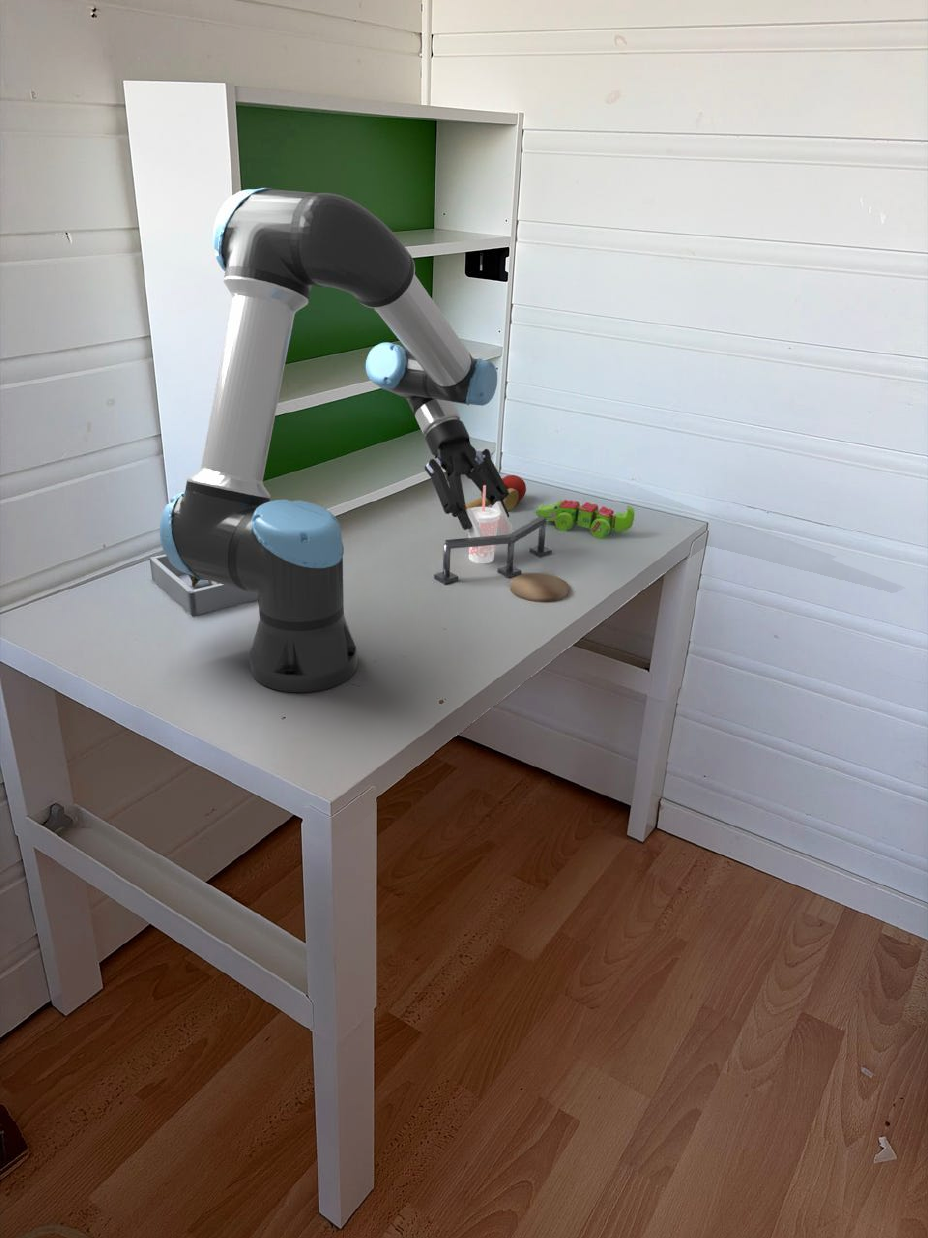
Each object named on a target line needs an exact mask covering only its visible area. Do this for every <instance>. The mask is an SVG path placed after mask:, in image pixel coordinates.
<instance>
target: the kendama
mask: <svg viewBox="0 0 928 1238" xmlns="http://www.w3.org/2000/svg"><path fill="white" fill-rule="evenodd" d="M501 478H502V480H503V482H504V484H505V486H506V488H507V489H508V491H509V495H508V496H507V497H506V498H505V499H504V500H503V502H504V504H505V506H506V509H507V511H508V512H509V511H511V510H513V509H514V508H515V507H516V505H517V504H518V503H519V502H520V501H521V500H523V498H524V497H525V495H526V493H527V486H526V483H525V481H524V479H523V478H522V477H521V476H519V475H516V474H508V475H506V476H504V477H501ZM480 496H481V498H478V499H476V500H473V501H471V502H469V503H465V505H466V508H465V510H466V509H467V508H473V507H482V504H483V493H482V492H481V491H480ZM490 505H492V504H491V503H490V502H489V501H488V499H487V498H486V497H485V507H490Z"/></svg>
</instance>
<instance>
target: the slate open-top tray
mask: <svg viewBox="0 0 928 1238" xmlns="http://www.w3.org/2000/svg"><path fill="white" fill-rule="evenodd" d="M149 564H150V572H151V580H152V581H153V582H154V583H155V584H157V586H159V587H160V588H161V589H162V590H163V591H164V592H165V593H166V594H167V595H168V596H169V597H170V598H171V599H173V600H174V601H175V602H176V603H177V604H178V605H179V606H180V607H182V608H183V609H184V610H185V611H186V612H187V613H188V614H189V615H190V616H191V617H194V616H198V615H202V614H205V613H209V612H214V611H217V610H221V609H225V608H229V607H233V606H237V605H240V604H244V603H248V602H252V601H257V600H258V595H257V594H256V593H253V592H250V591H246V590H242V589H238V588H235V587H231V586H228V585H224V584H221V583H217V584H216V585H212V584H211V585H207V586H204V587H200V588H195V589H192V588H191V587H189V586H188V585H187V584H186V583H185V582H184V581H182V580H181V579H180V578H179V576H181V575H188V574H187V573H184V572H182V571H180V570H178V569H177V568H175V567H174V566H173V565H172V564H171V563H170V561H169V559H168V557H167V556H166V555H165V554H160V555H157V556H152V557H149Z"/></svg>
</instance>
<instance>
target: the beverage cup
mask: <svg viewBox="0 0 928 1238" xmlns="http://www.w3.org/2000/svg"><path fill="white" fill-rule="evenodd" d="M485 496H486V485H483V504H482V507H473V508H471V510H472V512H473V514H474V516H475V519H476V521H477V523H478V525H479V527H480V529H481V532H482V534H483V536H484V537H485V536H497V533H498V520H499V519H500V511H499V510H497V509H494V508H491V506H488V507H485ZM467 534H468V533H467ZM467 538H470V536H469V534H468V537H467ZM495 549H496V545H487V546H479V547H476V548H475V547H468V560H469V561H470V562H471V563H475V564H489V563H492V562H493V561H494V557H495V551H496V550H495Z"/></svg>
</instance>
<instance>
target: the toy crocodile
mask: <svg viewBox="0 0 928 1238" xmlns="http://www.w3.org/2000/svg"><path fill="white" fill-rule="evenodd" d="M626 507H627V509H626V510H627V511H626V512H624V513H621V512H616V513H615V512H614V510H613V509H611V508H608V507H607V506H602V507H601V508H600V509H599V505H598V504H596V503H591V502H585V503H584V504H581V505H580V501H577V500H575V501H574V500H567V499H565V500H558V501H557V502H556V503H551V504H543V503H542V504H540V505H539V506H538V508H537V509H536V510H535V514H536V515H537V516H538V517H540V516H544V517H547V519H546V521H549V522H550V521H551V522H554V524H555V527H556V528H557V530H559V531H560V532H568V531H570V530H571V529H572V528H573V526H575V524H576V525H577V526H578V527H581V528H582V527H583V528H587V529H589V530H590V533H591V535H592V536H593V537H595V538H598V539H604V538H606V537H607V536H608V535H609V534H610V532H611V530H612V529H613V531H616V532H623V531H627V530H629V529H630V528H632V526H633V525H634V521H635V509H634V508H633V507H632V506H631V505H630V504H628V505H627V506H626Z"/></svg>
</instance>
